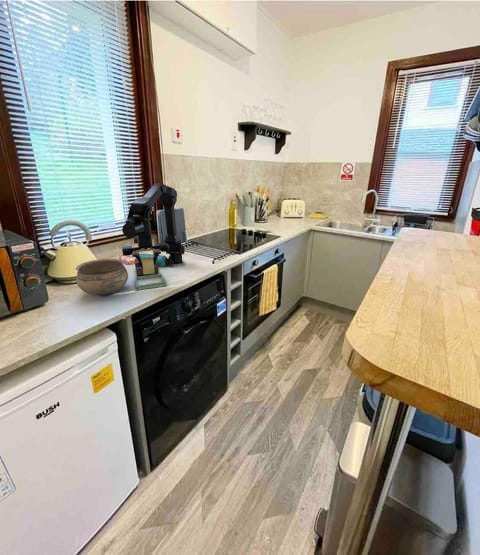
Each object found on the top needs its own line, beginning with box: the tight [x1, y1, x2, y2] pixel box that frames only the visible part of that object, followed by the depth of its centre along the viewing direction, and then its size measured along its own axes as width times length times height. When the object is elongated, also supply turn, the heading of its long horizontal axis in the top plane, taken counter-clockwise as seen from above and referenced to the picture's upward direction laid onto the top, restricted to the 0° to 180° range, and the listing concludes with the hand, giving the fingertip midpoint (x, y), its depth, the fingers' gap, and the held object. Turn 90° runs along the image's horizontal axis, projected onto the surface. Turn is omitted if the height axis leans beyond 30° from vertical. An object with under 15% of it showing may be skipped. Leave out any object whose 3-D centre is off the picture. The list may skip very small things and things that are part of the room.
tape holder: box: [134, 261, 160, 277], centre depth 134 cm, size 14×10×5 cm
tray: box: [134, 273, 167, 292], centre depth 122 cm, size 12×11×2 cm
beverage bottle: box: [136, 253, 174, 268], centre depth 144 cm, size 6×7×20 cm
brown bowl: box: [75, 258, 129, 297], centre depth 111 cm, size 25×19×12 cm
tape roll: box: [142, 257, 155, 274], centre depth 119 cm, size 7×5×7 cm, turn 23°
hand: (148, 267), depth 120 cm, fingers closed on tape roll, 4 cm apart
